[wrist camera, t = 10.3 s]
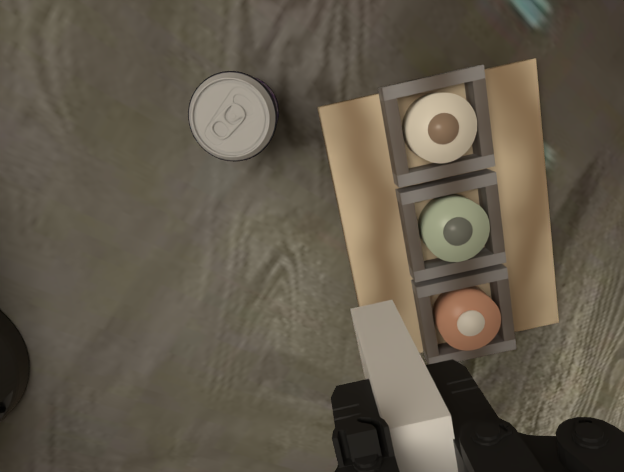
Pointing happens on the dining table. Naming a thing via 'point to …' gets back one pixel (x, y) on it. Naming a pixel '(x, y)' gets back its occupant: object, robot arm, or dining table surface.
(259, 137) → the beverage can
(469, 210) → the sage button
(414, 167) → the panel
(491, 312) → the terracotta button
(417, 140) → the cream button
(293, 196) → the dining table surface
